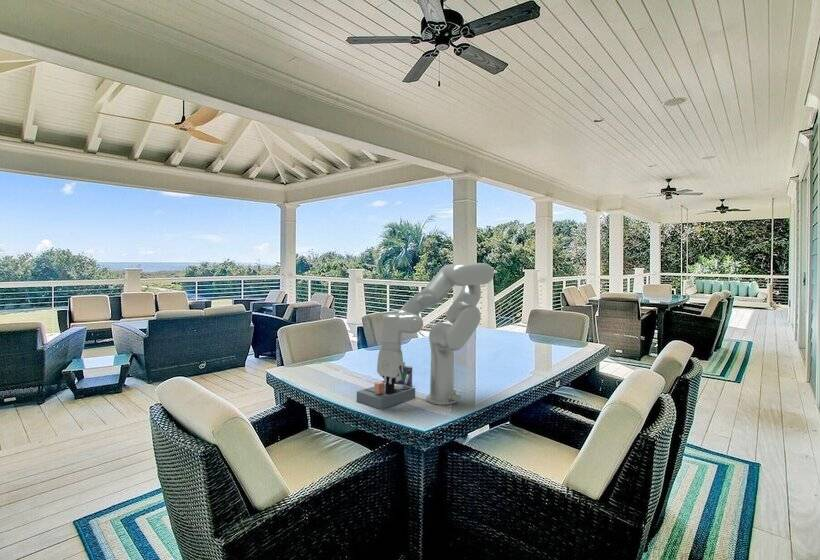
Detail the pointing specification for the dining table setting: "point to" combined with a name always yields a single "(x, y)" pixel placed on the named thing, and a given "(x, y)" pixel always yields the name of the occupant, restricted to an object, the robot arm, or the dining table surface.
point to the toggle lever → (407, 377)
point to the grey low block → (385, 396)
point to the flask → (405, 375)
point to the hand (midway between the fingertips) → (389, 393)
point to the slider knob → (379, 387)
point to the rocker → (395, 386)
